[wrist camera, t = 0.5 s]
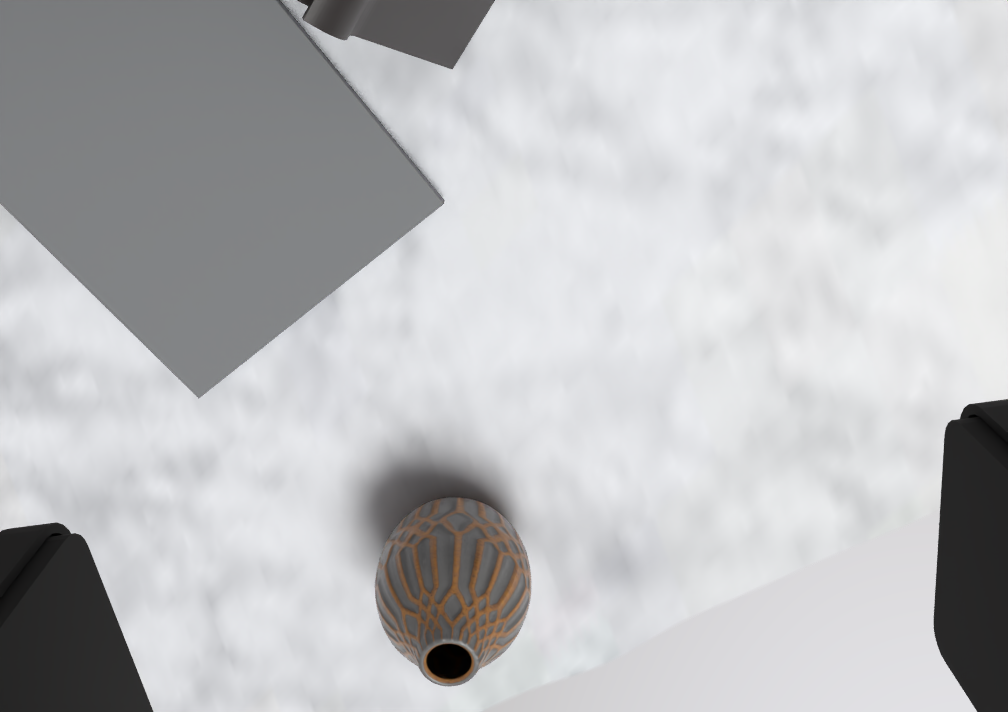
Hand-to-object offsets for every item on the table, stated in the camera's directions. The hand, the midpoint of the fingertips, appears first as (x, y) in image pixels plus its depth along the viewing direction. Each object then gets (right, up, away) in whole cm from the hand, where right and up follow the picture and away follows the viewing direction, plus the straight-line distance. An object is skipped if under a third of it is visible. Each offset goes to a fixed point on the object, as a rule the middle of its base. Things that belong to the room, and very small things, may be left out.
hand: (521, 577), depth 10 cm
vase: (-2, -6, +34) cm, 35 cm away
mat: (-14, +11, +26) cm, 32 cm away
